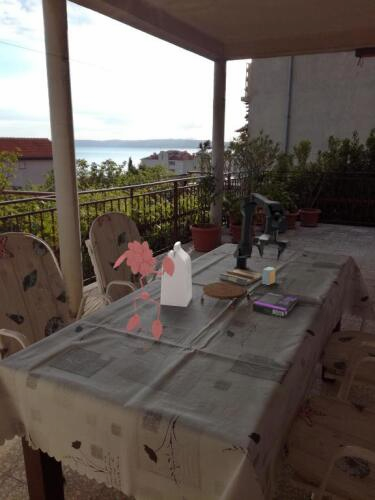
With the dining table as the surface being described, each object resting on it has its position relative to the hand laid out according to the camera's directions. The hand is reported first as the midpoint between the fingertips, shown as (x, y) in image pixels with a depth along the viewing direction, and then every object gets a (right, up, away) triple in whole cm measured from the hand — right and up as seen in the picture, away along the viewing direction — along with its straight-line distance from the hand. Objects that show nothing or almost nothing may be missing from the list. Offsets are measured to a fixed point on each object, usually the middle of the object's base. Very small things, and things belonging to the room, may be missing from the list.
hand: (269, 258), depth 196 cm
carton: (0, -13, +3) cm, 13 cm away
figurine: (-58, -27, -58) cm, 86 cm away
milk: (-46, -18, -22) cm, 54 cm away
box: (-3, -20, -26) cm, 33 cm away
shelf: (-12, -10, +12) cm, 20 cm away
